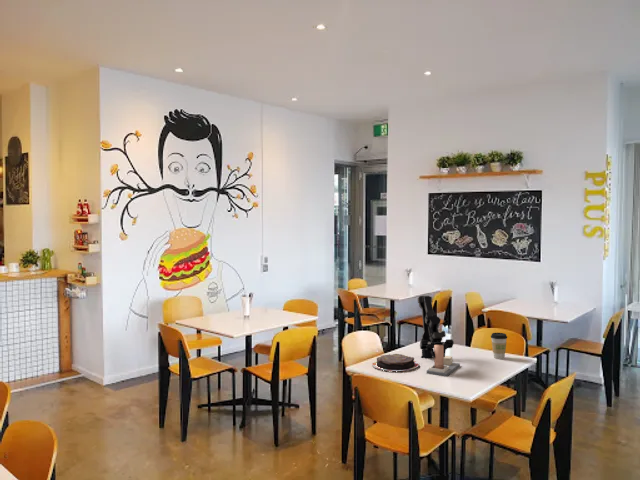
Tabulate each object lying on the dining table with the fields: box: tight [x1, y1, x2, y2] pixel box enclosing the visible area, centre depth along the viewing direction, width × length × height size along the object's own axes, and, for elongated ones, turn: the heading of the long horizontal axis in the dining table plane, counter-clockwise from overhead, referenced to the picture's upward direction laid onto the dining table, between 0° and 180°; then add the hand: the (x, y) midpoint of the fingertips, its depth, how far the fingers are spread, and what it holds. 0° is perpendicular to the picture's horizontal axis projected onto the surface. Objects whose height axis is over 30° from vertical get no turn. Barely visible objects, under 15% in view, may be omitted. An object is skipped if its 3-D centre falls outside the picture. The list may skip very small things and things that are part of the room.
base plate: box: [426, 355, 461, 377], centre depth 305 cm, size 12×23×6 cm, turn 148°
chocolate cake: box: [371, 353, 420, 373], centre depth 315 cm, size 28×28×7 cm
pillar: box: [433, 344, 444, 369], centre depth 299 cm, size 5×5×13 cm
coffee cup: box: [490, 332, 508, 360], centre depth 326 cm, size 10×10×15 cm
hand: (439, 357), depth 298 cm, fingers closed on pillar, 5 cm apart
